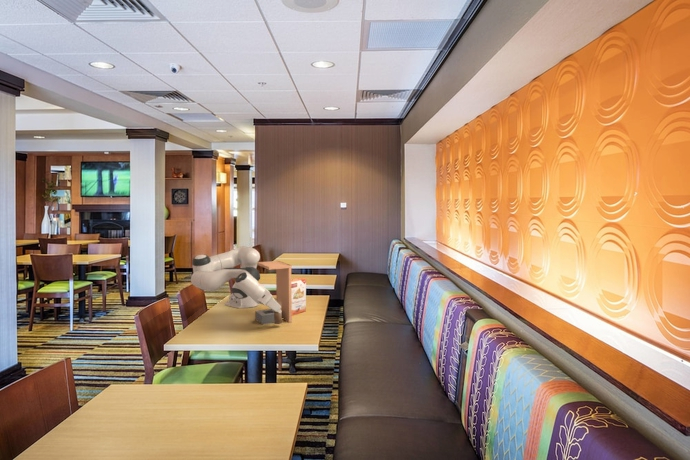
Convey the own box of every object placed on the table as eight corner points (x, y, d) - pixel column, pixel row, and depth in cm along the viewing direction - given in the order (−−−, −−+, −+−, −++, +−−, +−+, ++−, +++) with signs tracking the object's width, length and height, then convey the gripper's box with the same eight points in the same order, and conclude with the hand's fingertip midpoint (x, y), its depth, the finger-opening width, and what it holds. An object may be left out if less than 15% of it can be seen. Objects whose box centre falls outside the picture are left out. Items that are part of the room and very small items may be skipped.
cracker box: (290, 316, 252) (290, 282, 251) (283, 314, 256) (283, 280, 254) (306, 311, 263) (306, 278, 262) (299, 309, 267) (299, 277, 265)
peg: (272, 323, 229) (272, 301, 228) (277, 321, 233) (277, 300, 232) (278, 324, 227) (278, 302, 226) (283, 322, 231) (282, 301, 230)
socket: (262, 324, 235) (261, 315, 235) (255, 319, 245) (255, 310, 245) (282, 321, 241) (282, 313, 241) (274, 316, 251) (274, 308, 251)
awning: (269, 325, 233) (269, 266, 231) (258, 317, 250) (257, 262, 248) (291, 322, 240) (291, 265, 237) (278, 314, 257) (278, 260, 255)
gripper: (251, 296, 232) (268, 311, 238) (263, 304, 214) (281, 320, 220) (259, 287, 234) (275, 302, 240) (271, 294, 216) (289, 310, 222)
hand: (278, 311), depth 230 cm, fingers closed on peg, 4 cm apart
